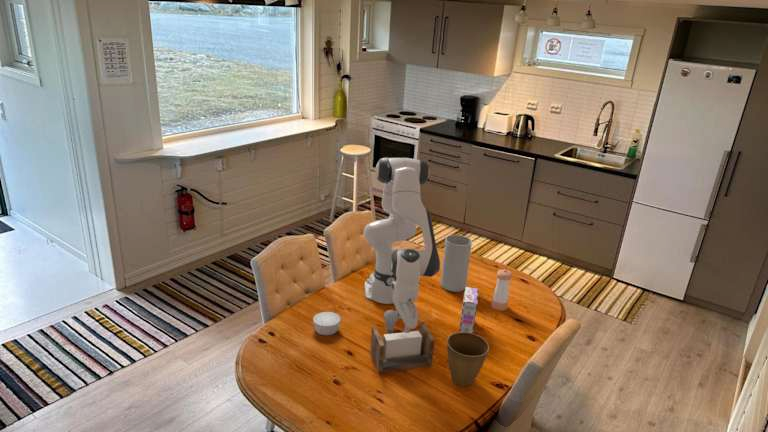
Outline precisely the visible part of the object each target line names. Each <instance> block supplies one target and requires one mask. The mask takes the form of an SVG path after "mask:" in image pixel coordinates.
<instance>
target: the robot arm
mask: <svg viewBox="0 0 768 432" xmlns="http://www.w3.org/2000/svg"><path fill="white" fill-rule="evenodd" d="M374 169H375V170H374V171H375V176H376V179H377V180H378V181H379V182H380V183H382V184H383V190H382V196H381V207H382V210H383V211H385V212H386V213H388V214H389V216H388V218H387V217H386V218H383V219H378V220H373V221H372V222H370V223H367V224H366V225H365V227H364V229H363V237H364V240H365V241H366V243H367V244H368V245H370V246H371V247H372V248H373V250H374V252H375V267H374V270H373V273H371V274H370V275H369V277H368V278H366V281H364V294H365V299H367V300H370V301H371V300H372V301H374V302H376V303H379V304H384V305H385V304H387V305H389V304H390V305H391V304H393V305H394V307H395V311H396V313H397V314H396V317H397V318H398V320H400V319H401V320H402V322H403V324H404V325H405V326H404V327H403V332H405V333H409V332H411V330H412V329H416V328H417V327H418V320H419V319H418V318H419V315H418V314H419V312H418V309H417V307H416V305H415V303H414V302H416V301H417V300H418V298H419V292H420V290H419V289H420V288H419V287H420V283H419V280H420V279H421V276H423V277H429V278H432V277H434V276H436V275H437V274H438V273H439V272H440V268H441V260H440V254H439V252H438V248H437V242H436V237H435V232H434V226H433V222H432V220H433V219H432V217H431V214H430V211H429V209H428V208H426V207H425V206H424V204H423V202H422V198H421V185H424V184H426V183H427V182H428V180H429V177H430V171H431V170H430V166H429V164H428V162H427V161H426V160H425V159H424V160H423V159H419V158H418V159H415V158H410V157H382V158H379V160H378V161H377V163H376V166H375V168H374ZM417 226H418V227H419V228H420V230H421V234H422V239H423V244H424V249H412V248H398V249H396V248H394V247H393V243H397V242H401V241H406V240H408V239H410V238H412V237H414V236H415V235H416V232H417Z"/></svg>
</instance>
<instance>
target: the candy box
mask: <svg viewBox="0 0 768 432" xmlns="http://www.w3.org/2000/svg"><path fill="white" fill-rule="evenodd" d="M478 299H479V288H476V287H470V286H466V287H465V289H464V292H463V299H462V307H461V313H460V315H461V316H460V324H459V330H458V331H459V332H468V333H473V334H474V328H475V321H476V320H475V319H476V315H477V310H478V309H477V308H478V301H479V300H478Z"/></svg>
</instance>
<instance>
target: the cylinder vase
mask: <svg viewBox="0 0 768 432" xmlns="http://www.w3.org/2000/svg"><path fill="white" fill-rule="evenodd" d="M472 243H473V241H472V239H471V238H470V237H467V236H465V235H461V234H449V235H447V236H446V237H445V242H444V250H443V259H442V266H441V267H442V269H441V277H440V287H441V288H442V289H444V290H445V291H448V292H453V293H454V292H455V293H458V292H462V291H465V287H467V280H468V274H469V268H470V267H469V265H470V258H471V252H472V251H471V250H472Z"/></svg>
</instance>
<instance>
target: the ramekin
mask: <svg viewBox="0 0 768 432" xmlns="http://www.w3.org/2000/svg"><path fill="white" fill-rule="evenodd" d="M341 322H342V321H341V316H340V315H339V314H338V313H335V312H333V311H322V312H319V313H316V314H315V315H314V316H313V318H312V323H313V326H314V330H315V332H316V333H317V334H318V335H322V336H331V335H333V334H336V333H337V332H338V331H339V327H340V324H341Z"/></svg>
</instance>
